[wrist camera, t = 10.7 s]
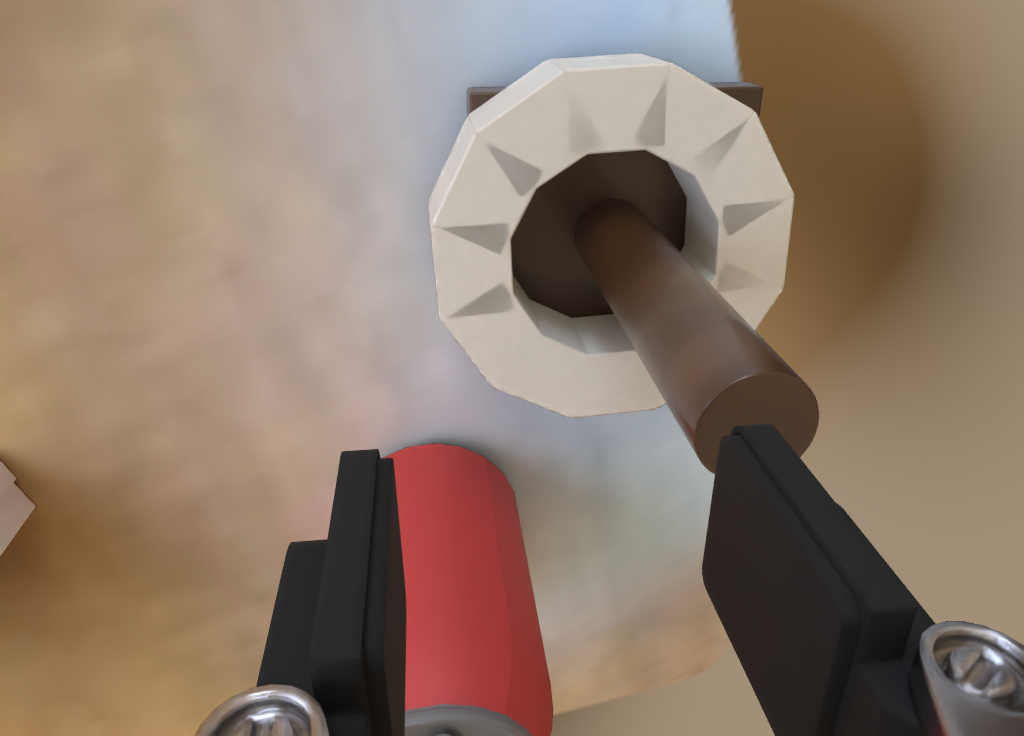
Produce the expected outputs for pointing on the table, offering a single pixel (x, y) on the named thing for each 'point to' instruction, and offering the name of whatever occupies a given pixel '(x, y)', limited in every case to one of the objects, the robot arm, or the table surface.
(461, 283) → the tape roll
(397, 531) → the robot arm
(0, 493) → the walkman
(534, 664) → the beer can
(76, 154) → the table surface
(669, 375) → the spindle
